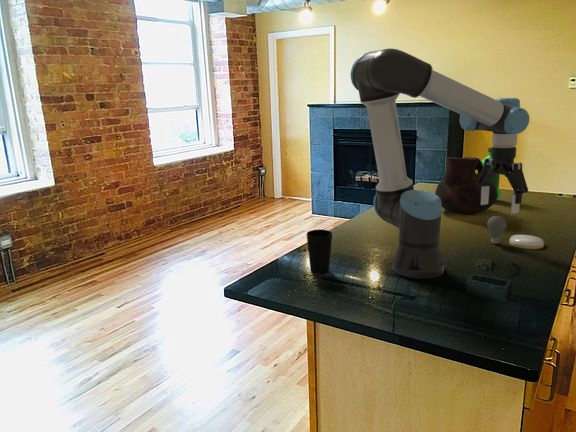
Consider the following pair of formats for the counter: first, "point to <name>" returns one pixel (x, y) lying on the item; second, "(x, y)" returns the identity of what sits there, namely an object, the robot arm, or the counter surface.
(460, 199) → the jug
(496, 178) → the plastic bottle
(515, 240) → the white plate
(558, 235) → the counter surface
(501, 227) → the light bulb
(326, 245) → the cup
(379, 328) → the counter surface
